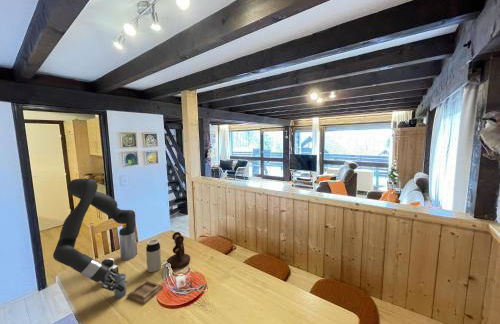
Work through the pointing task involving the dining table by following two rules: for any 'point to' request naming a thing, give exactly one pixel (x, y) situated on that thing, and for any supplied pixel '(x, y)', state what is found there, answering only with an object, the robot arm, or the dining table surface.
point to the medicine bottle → (109, 265)
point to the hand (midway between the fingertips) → (124, 286)
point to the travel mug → (153, 255)
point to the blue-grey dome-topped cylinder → (121, 281)
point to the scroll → (178, 252)
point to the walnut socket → (144, 292)
